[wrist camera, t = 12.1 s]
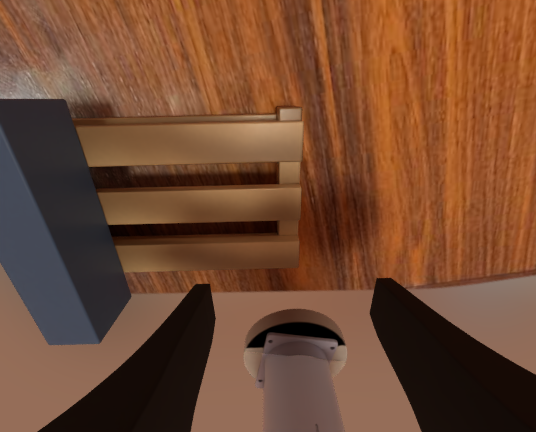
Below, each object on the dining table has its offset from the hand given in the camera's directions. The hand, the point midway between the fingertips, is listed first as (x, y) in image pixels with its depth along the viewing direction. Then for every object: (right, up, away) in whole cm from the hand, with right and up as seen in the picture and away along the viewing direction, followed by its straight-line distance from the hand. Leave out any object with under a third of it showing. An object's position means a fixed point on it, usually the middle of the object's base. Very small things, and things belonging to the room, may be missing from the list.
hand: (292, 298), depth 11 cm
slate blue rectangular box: (-13, +4, +3) cm, 14 cm away
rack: (-7, +6, +7) cm, 11 cm away
